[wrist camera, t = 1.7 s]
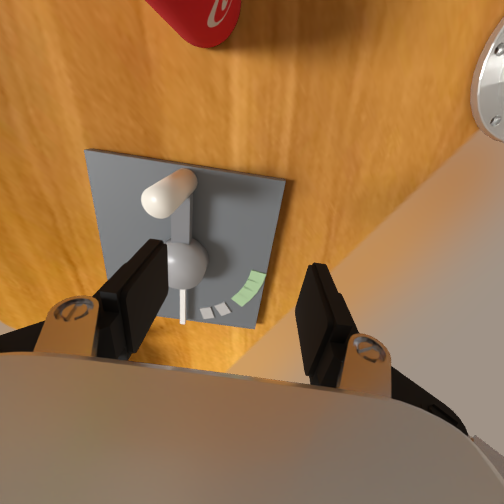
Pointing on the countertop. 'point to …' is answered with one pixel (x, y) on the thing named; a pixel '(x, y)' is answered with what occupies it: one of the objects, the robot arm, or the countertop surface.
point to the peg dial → (178, 230)
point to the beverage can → (200, 19)
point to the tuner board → (203, 230)
